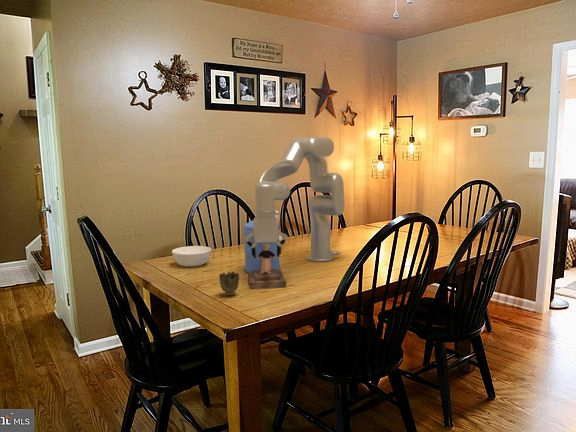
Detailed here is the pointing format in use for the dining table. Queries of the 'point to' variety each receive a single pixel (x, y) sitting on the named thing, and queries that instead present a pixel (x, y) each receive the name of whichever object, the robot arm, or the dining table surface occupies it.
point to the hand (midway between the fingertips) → (266, 256)
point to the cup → (229, 283)
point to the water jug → (258, 252)
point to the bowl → (191, 255)
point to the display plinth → (267, 283)
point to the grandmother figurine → (266, 258)
